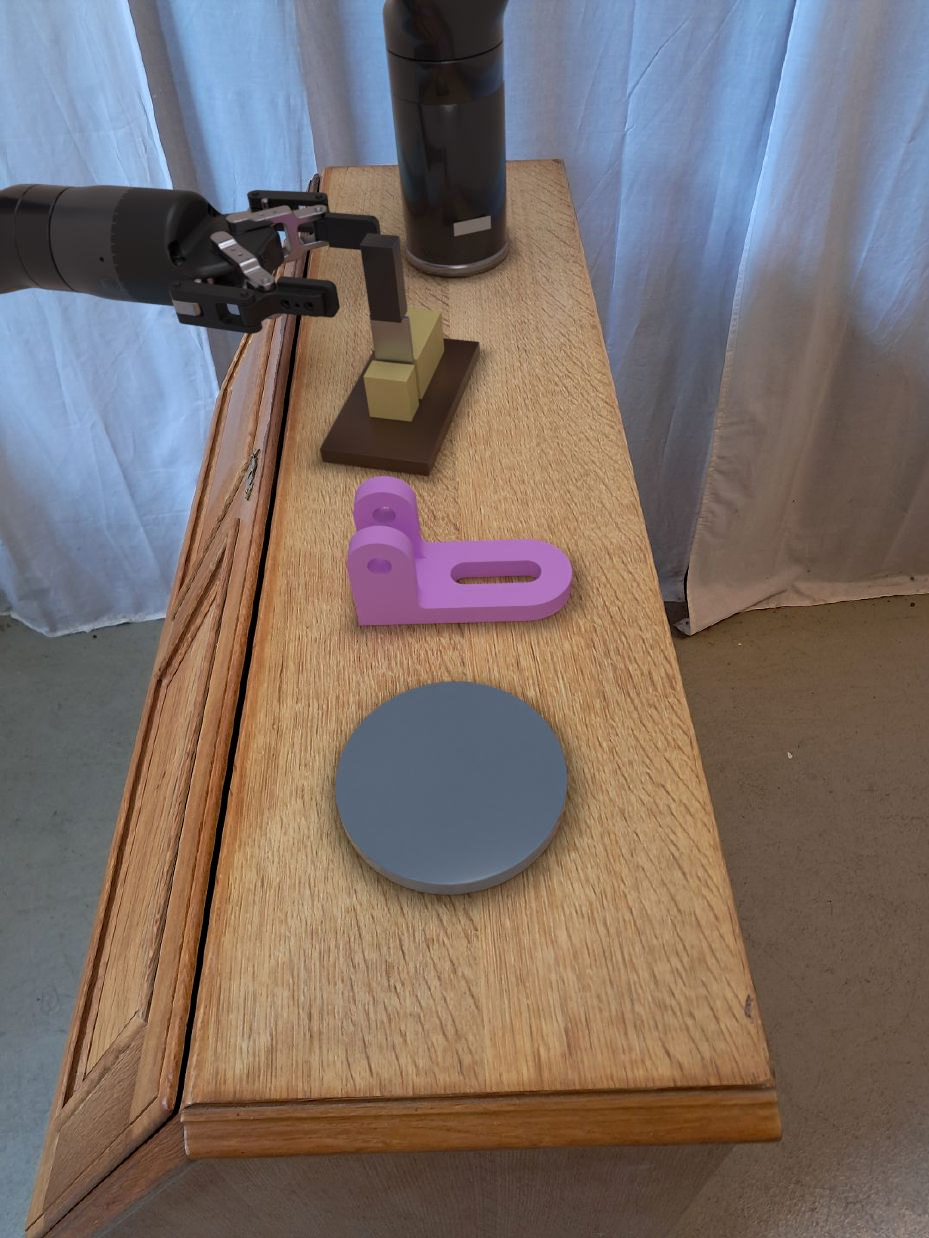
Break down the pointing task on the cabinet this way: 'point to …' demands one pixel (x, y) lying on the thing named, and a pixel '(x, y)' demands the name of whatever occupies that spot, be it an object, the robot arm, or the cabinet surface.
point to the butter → (426, 344)
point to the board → (400, 440)
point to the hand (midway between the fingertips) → (358, 265)
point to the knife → (387, 298)
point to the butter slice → (391, 390)
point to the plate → (451, 787)
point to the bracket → (443, 568)
